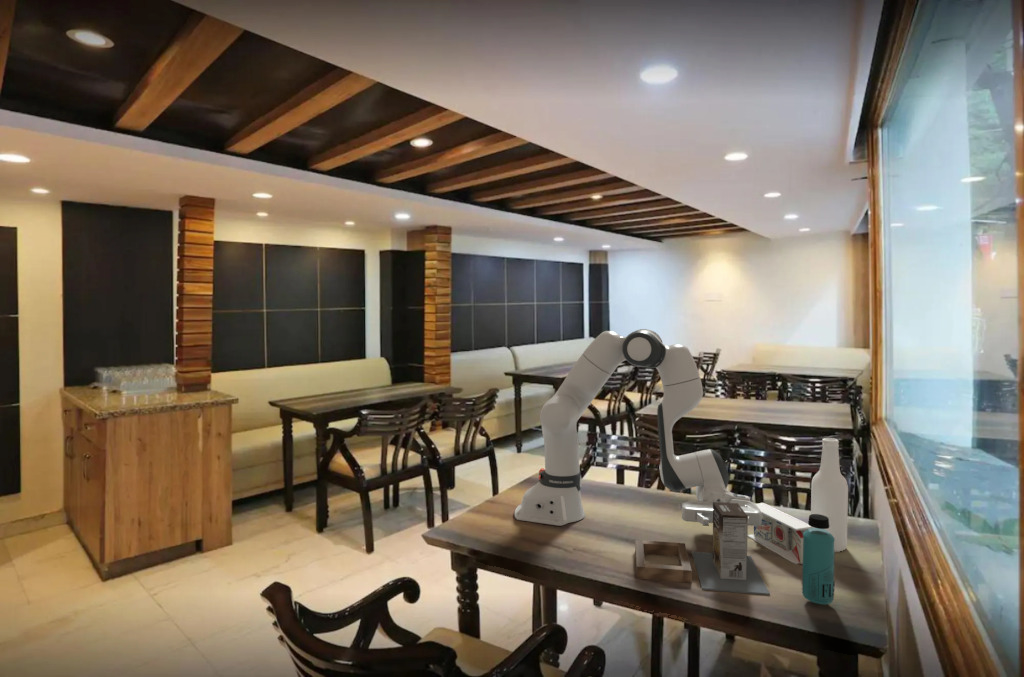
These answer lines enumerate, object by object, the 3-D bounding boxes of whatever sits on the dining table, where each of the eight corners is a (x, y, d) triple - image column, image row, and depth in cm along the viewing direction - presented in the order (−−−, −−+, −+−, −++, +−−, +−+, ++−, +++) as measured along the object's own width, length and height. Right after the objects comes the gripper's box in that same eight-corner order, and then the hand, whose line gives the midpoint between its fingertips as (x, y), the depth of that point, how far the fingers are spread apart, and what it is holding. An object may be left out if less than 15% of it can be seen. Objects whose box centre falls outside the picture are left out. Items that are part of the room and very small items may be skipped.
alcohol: (812, 550, 154) (814, 441, 152) (808, 537, 162) (810, 434, 161) (849, 555, 151) (852, 444, 149) (843, 542, 159) (846, 437, 157)
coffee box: (711, 562, 147) (712, 501, 146) (737, 563, 146) (738, 502, 145) (720, 579, 137) (720, 514, 137) (747, 580, 137) (748, 515, 136)
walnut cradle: (636, 578, 139) (636, 566, 139) (635, 550, 155) (635, 539, 155) (691, 582, 137) (691, 570, 137) (684, 554, 152) (684, 543, 152)
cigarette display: (746, 536, 164) (747, 504, 164) (762, 534, 166) (763, 502, 165) (799, 566, 145) (799, 530, 144) (816, 563, 146) (817, 528, 146)
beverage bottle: (822, 614, 122) (824, 524, 121) (794, 600, 128) (796, 514, 127) (840, 606, 125) (843, 518, 124) (812, 593, 131) (814, 509, 130)
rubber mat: (702, 589, 133) (702, 587, 133) (691, 553, 153) (691, 551, 153) (769, 595, 131) (769, 593, 130) (750, 557, 150) (750, 555, 150)
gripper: (678, 492, 160) (683, 509, 147) (755, 496, 156) (767, 514, 143) (678, 514, 160) (682, 533, 147) (754, 518, 156) (766, 539, 143)
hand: (725, 524), depth 145 cm, fingers open, 8 cm apart
